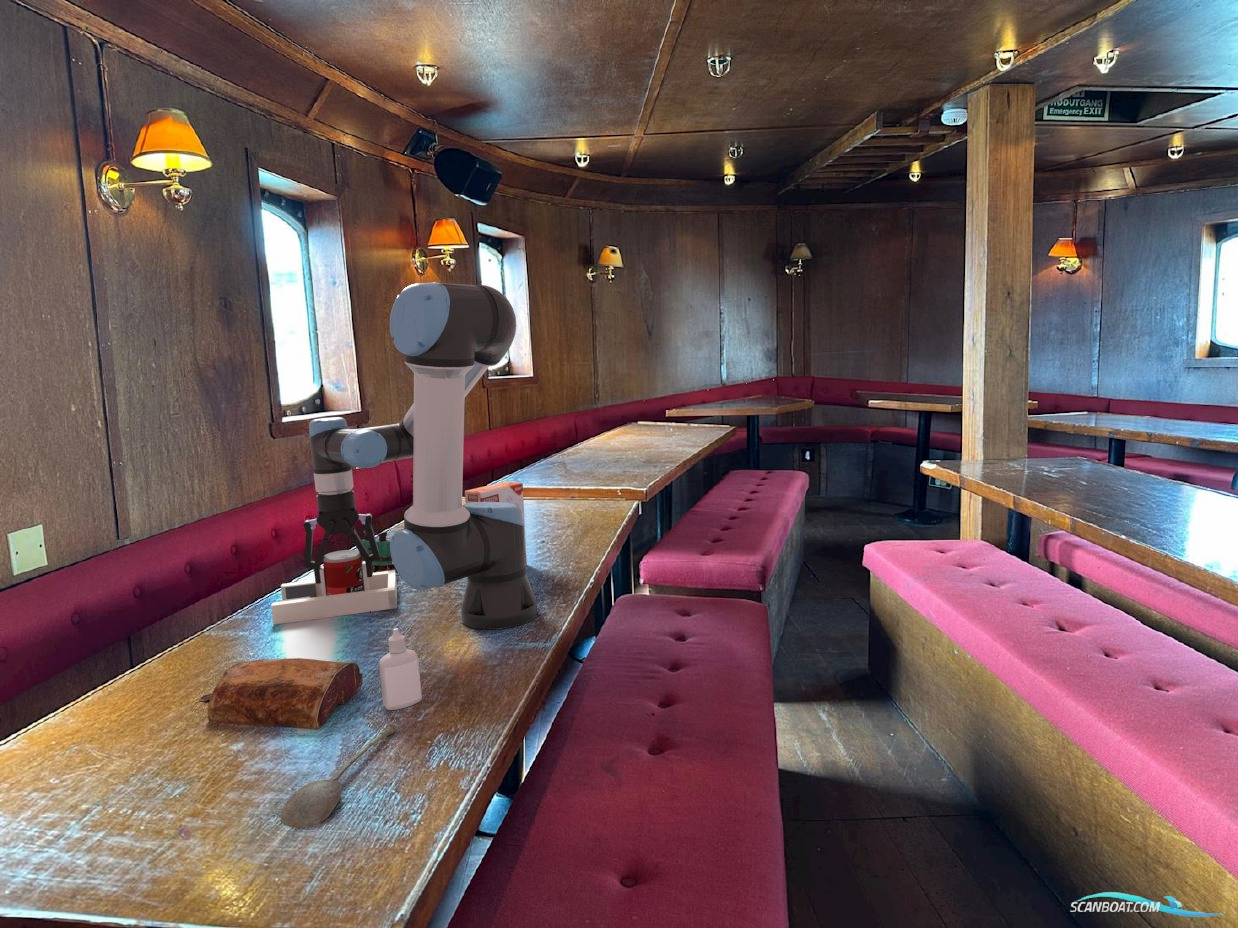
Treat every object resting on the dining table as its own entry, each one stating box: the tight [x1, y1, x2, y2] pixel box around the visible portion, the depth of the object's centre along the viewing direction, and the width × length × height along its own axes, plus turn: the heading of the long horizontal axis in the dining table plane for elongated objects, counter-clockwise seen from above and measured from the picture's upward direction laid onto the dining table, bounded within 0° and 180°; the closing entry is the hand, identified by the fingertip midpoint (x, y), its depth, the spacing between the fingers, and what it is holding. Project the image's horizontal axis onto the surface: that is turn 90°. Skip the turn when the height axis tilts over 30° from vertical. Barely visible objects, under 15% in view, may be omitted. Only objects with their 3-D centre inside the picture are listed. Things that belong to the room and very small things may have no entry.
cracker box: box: [464, 481, 528, 566], centre depth 178 cm, size 14×6×21 cm, turn 143°
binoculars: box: [361, 529, 396, 573], centre depth 184 cm, size 9×11×10 cm
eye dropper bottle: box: [378, 627, 423, 711], centre depth 113 cm, size 4×6×12 cm
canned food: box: [322, 549, 365, 596], centre depth 160 cm, size 8×8×11 cm
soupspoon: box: [280, 722, 400, 829], centre depth 95 cm, size 22×3×7 cm
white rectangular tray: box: [270, 569, 398, 626], centre depth 160 cm, size 15×24×4 cm, turn 106°
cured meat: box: [198, 657, 364, 730], centre depth 117 cm, size 18×25×7 cm
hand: (346, 594), depth 160 cm, fingers closed on canned food, 8 cm apart
